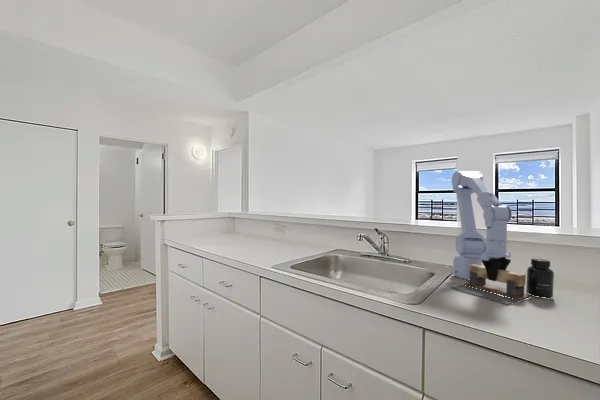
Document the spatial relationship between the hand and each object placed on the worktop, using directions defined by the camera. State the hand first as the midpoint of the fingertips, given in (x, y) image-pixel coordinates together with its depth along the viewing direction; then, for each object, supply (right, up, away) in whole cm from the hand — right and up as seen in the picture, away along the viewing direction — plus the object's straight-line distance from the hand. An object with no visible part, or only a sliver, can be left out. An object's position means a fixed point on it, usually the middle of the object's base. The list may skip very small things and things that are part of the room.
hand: (495, 279), depth 98 cm
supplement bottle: (+12, -5, -4) cm, 13 cm away
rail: (0, 0, 0) cm, 0 cm away
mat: (-7, -4, -4) cm, 9 cm away
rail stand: (0, -4, 0) cm, 4 cm away
